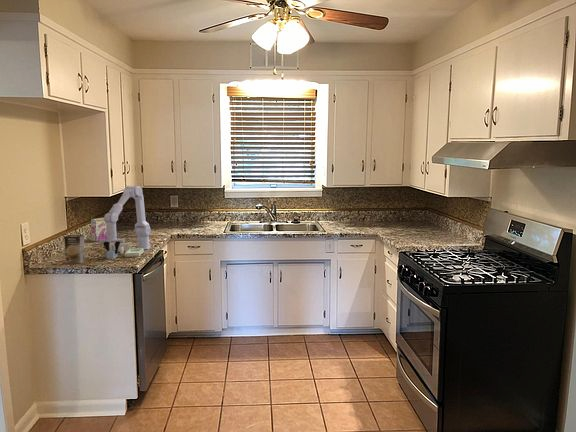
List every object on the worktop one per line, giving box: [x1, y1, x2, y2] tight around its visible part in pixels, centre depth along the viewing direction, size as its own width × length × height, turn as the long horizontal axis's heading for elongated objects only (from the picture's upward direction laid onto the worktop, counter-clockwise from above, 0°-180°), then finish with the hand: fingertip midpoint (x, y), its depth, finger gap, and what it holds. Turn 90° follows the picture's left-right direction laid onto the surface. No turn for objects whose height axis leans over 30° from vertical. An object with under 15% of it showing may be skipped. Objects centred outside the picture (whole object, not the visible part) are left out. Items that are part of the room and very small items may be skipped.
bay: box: [109, 242, 131, 255], centre depth 291 cm, size 9×13×5 cm
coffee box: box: [64, 234, 86, 264], centre depth 263 cm, size 9×6×16 cm
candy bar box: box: [90, 217, 107, 242], centre depth 330 cm, size 11×5×16 cm, turn 152°
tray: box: [124, 247, 145, 258], centre depth 285 cm, size 15×9×2 cm, turn 6°
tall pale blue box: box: [105, 245, 119, 260], centre depth 277 cm, size 10×4×8 cm, turn 6°
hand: (112, 253), depth 278 cm, fingers closed on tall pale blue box, 4 cm apart
